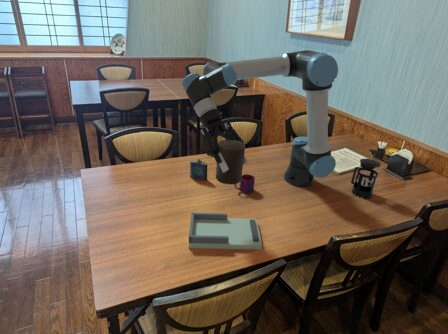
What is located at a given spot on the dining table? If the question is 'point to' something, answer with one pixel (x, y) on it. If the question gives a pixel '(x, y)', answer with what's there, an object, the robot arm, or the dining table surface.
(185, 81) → the robot arm
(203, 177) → the flask
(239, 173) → the pillar candle
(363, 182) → the french press
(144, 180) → the dining table surface
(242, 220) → the deck plate
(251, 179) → the mug
